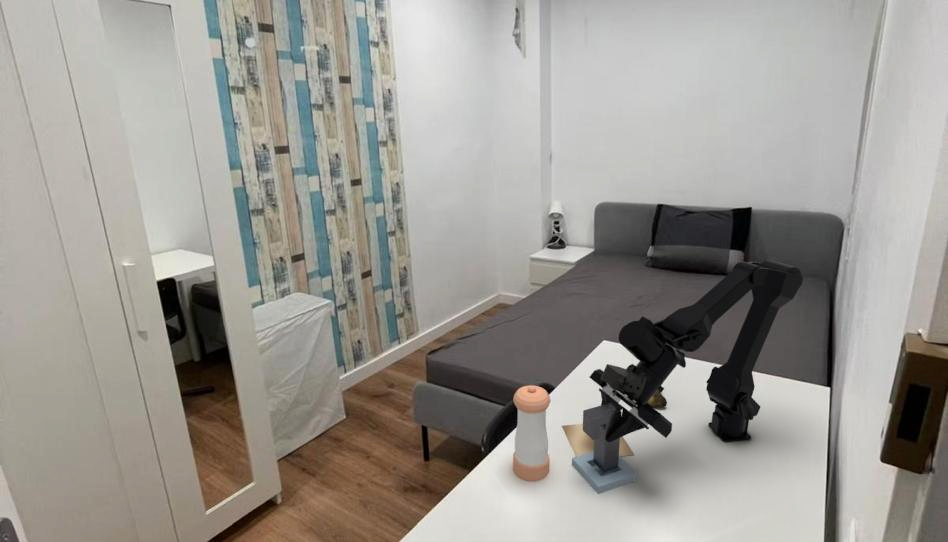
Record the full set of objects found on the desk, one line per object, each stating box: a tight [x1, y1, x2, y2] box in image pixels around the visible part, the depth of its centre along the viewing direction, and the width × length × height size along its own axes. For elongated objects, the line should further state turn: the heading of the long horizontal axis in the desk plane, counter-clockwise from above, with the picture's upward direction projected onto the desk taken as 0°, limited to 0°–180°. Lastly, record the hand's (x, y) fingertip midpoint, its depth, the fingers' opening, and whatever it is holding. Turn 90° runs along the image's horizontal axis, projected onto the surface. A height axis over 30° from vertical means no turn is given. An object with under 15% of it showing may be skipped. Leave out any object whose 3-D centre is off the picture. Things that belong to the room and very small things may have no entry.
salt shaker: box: [512, 385, 551, 482], centre depth 100 cm, size 7×7×19 cm
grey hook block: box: [582, 403, 622, 472], centre depth 98 cm, size 6×3×13 cm, turn 112°
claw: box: [625, 390, 668, 408], centre depth 130 cm, size 20×10×3 cm, turn 37°
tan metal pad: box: [561, 423, 635, 458], centre depth 111 cm, size 12×12×1 cm
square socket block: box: [571, 451, 638, 495], centre depth 101 cm, size 9×9×2 cm
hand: (601, 435), depth 98 cm, fingers closed on grey hook block, 3 cm apart
